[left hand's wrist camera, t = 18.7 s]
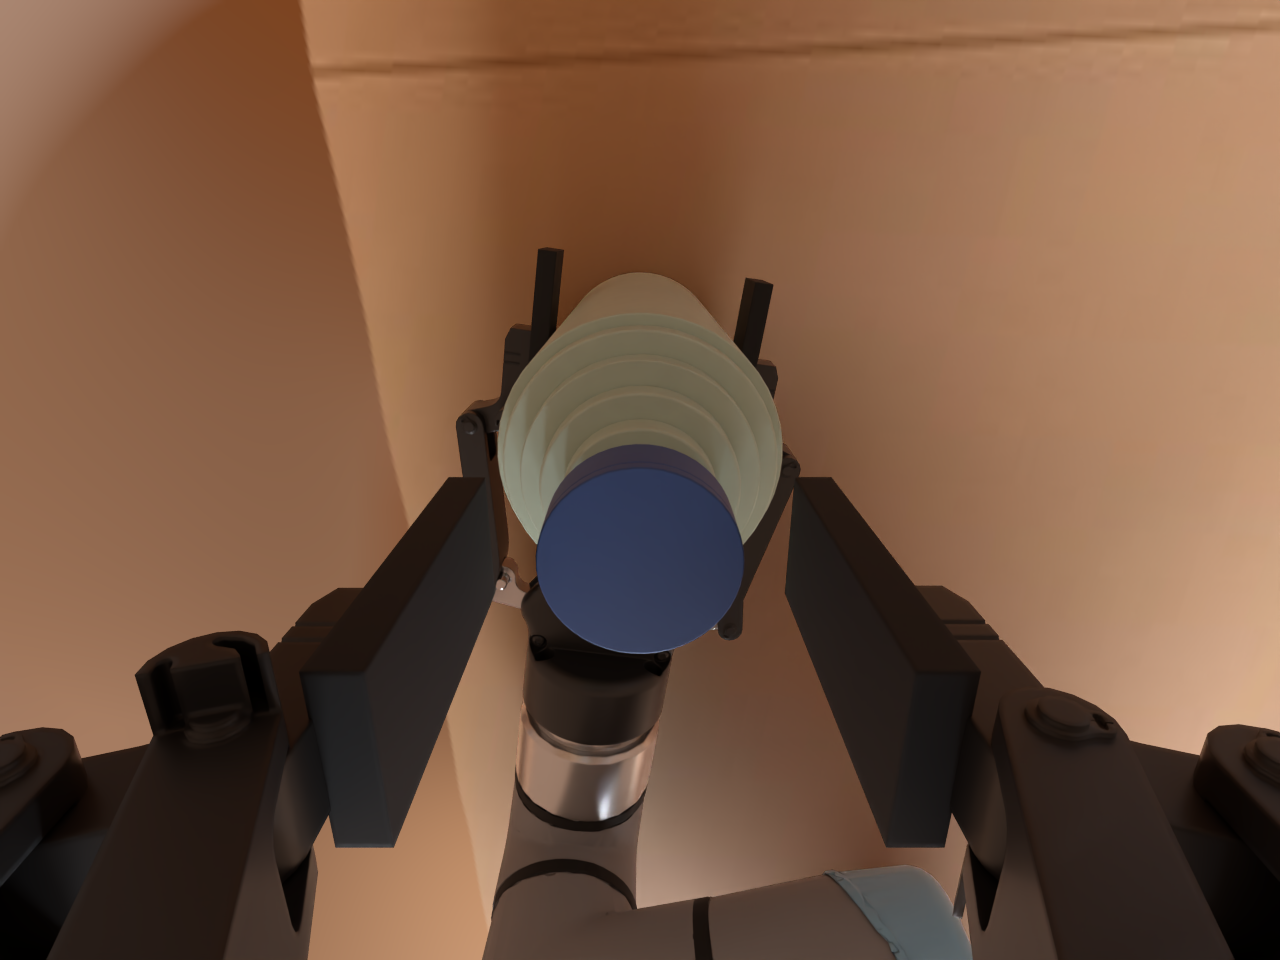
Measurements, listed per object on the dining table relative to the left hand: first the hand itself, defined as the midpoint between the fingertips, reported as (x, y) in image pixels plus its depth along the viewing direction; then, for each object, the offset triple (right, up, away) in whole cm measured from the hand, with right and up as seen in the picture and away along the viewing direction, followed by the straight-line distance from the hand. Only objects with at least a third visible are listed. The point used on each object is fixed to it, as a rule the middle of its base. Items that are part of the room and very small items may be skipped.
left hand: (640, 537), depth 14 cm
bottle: (0, +8, +22) cm, 23 cm away
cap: (0, 0, -1) cm, 1 cm away
